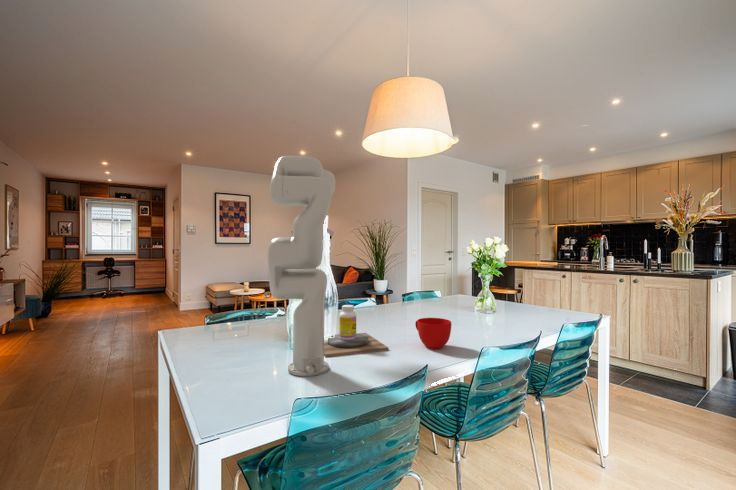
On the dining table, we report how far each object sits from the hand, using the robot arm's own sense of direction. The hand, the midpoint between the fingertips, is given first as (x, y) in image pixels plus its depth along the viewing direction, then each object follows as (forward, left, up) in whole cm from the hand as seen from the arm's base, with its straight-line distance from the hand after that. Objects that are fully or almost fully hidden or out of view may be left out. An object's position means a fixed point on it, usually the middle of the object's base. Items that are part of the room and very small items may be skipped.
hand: (312, 252), depth 142 cm
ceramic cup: (-22, -42, -37) cm, 60 cm away
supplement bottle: (-10, -12, -34) cm, 37 cm away
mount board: (-10, -12, -36) cm, 40 cm away
